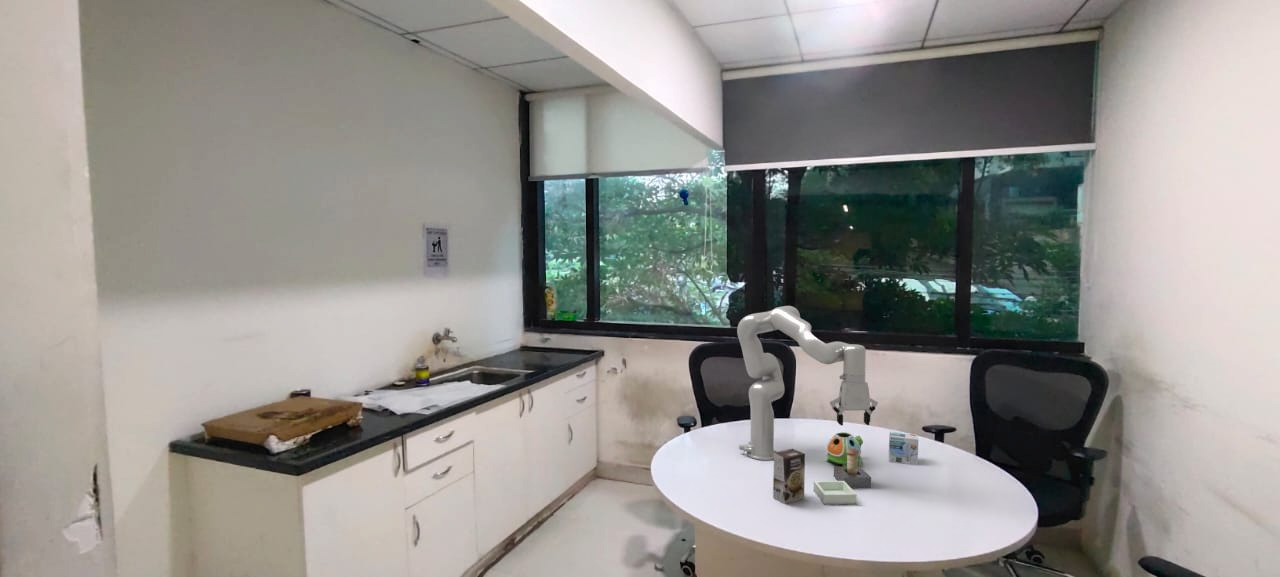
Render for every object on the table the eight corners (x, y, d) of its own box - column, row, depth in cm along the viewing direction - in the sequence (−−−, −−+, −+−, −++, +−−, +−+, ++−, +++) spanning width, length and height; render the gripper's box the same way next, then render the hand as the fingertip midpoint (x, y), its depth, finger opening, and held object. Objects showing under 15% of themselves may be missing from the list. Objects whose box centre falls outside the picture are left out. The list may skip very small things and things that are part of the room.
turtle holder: (874, 462, 222) (875, 433, 221) (845, 472, 212) (845, 442, 211) (848, 453, 232) (849, 425, 231) (819, 461, 223) (820, 433, 222)
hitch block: (843, 488, 198) (843, 477, 198) (833, 476, 208) (833, 466, 208) (871, 488, 198) (871, 477, 198) (859, 476, 208) (859, 466, 208)
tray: (824, 504, 185) (824, 494, 185) (813, 490, 196) (813, 481, 196) (856, 504, 185) (856, 494, 185) (843, 490, 196) (844, 480, 196)
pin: (848, 485, 201) (849, 453, 200) (843, 479, 205) (844, 448, 204) (860, 484, 201) (860, 453, 200) (855, 479, 205) (856, 448, 204)
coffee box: (785, 504, 186) (785, 458, 185) (772, 497, 191) (772, 452, 190) (805, 498, 190) (805, 453, 189) (792, 491, 196) (792, 447, 194)
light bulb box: (888, 462, 222) (889, 436, 221) (888, 456, 228) (888, 431, 228) (918, 465, 218) (919, 439, 217) (916, 459, 224) (917, 434, 224)
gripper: (834, 381, 196) (833, 427, 197) (882, 380, 197) (881, 427, 198) (827, 376, 204) (826, 421, 205) (873, 375, 204) (872, 420, 205)
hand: (853, 424), depth 201 cm, fingers open, 9 cm apart
